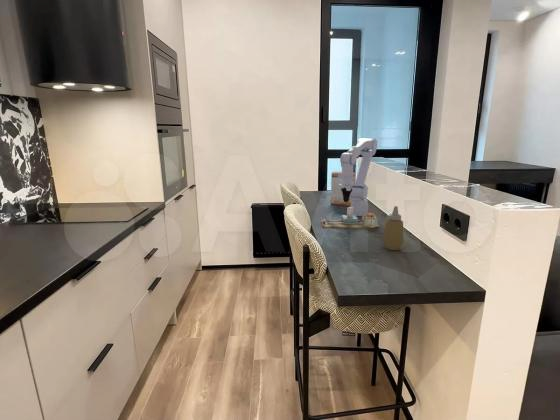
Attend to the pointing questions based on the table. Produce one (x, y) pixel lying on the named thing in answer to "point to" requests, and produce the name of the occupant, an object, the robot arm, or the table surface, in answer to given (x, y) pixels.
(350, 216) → the carriage
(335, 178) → the cracker box
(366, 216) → the button
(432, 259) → the table surface
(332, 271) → the table surface
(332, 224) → the rail track
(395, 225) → the squeeze bottle
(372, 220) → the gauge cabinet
